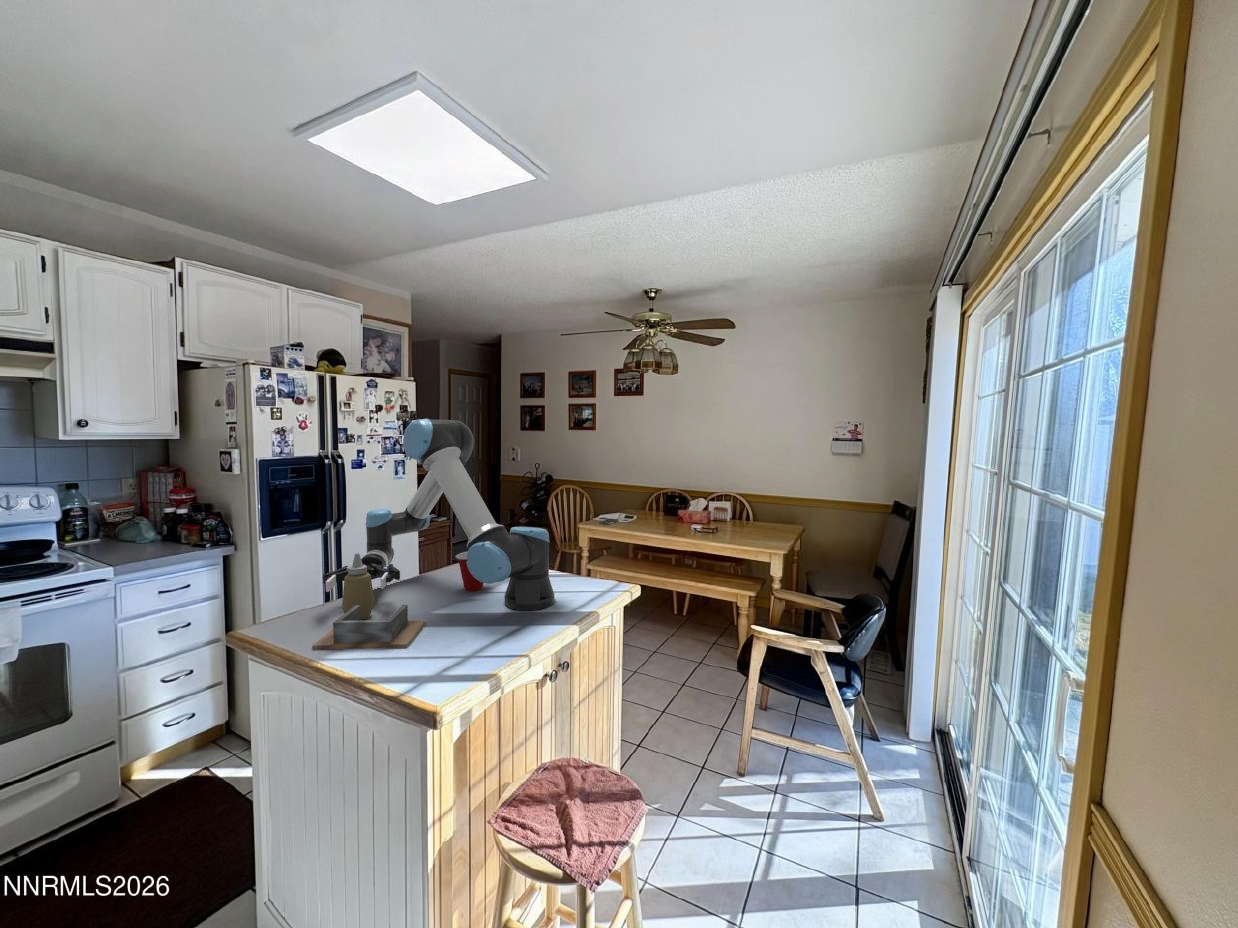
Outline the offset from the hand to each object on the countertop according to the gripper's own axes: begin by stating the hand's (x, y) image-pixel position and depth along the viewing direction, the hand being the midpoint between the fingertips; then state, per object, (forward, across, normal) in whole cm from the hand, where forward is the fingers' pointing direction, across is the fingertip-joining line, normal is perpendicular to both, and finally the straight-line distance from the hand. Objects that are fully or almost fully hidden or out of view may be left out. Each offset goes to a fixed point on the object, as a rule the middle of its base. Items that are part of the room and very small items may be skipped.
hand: (354, 585), depth 139 cm
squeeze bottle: (-2, 0, -10) cm, 11 cm away
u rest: (+12, -7, -10) cm, 17 cm away
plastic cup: (-23, -30, -10) cm, 39 cm away
